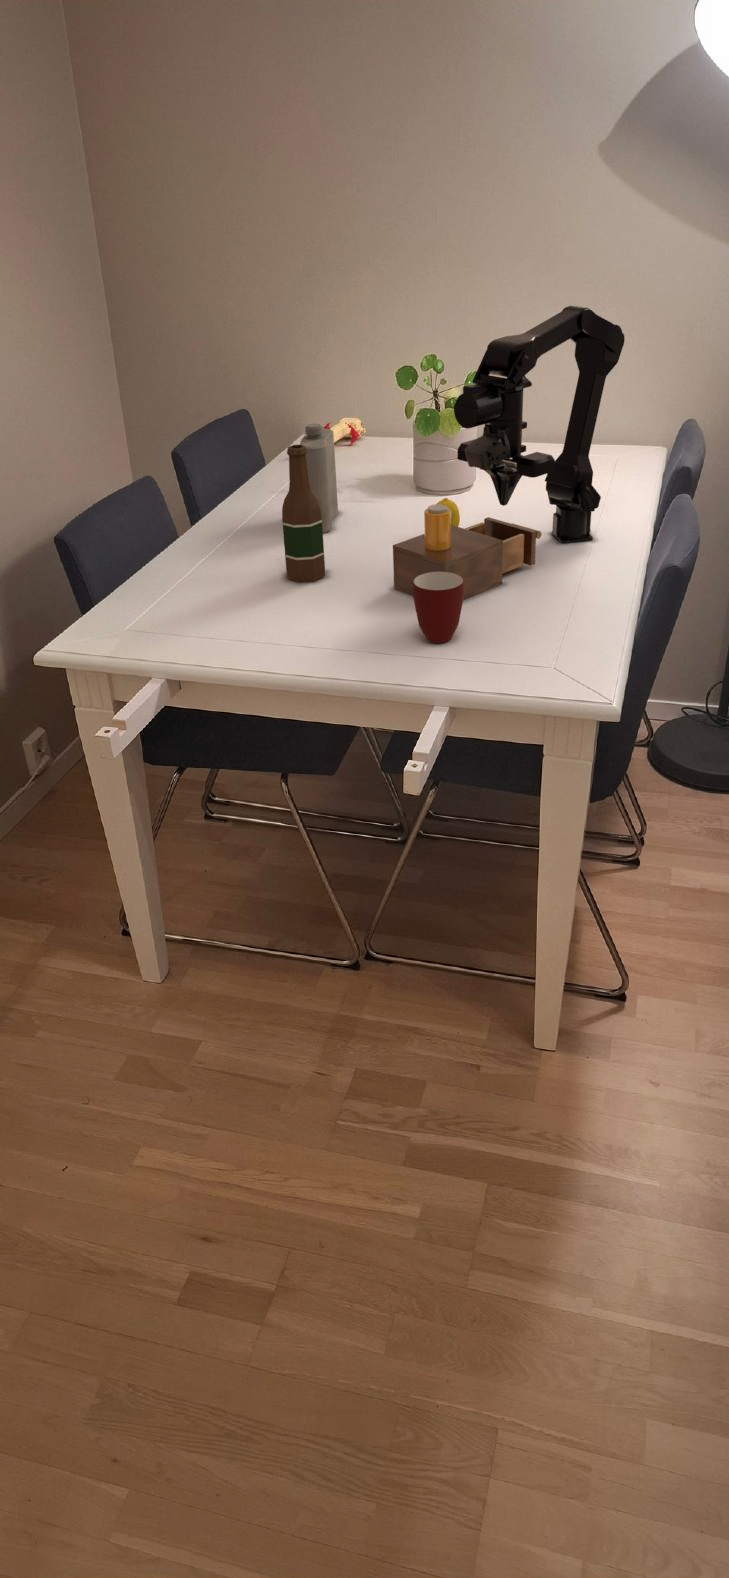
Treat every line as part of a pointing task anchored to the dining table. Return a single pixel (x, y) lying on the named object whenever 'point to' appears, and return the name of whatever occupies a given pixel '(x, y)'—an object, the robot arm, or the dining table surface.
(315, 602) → the dining table surface
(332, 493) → the flask
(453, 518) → the lemon
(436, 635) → the mug
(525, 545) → the drawer
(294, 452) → the beer bottle
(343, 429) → the meaty bone
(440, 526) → the yellow jar
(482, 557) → the cabinet
